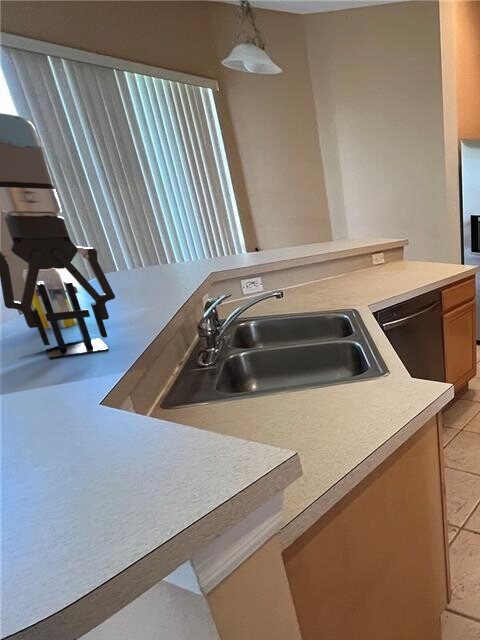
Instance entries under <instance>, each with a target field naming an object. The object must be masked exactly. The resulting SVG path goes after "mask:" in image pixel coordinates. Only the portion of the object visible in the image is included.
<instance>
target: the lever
mask: <svg viewBox="0 0 480 640" xmlns="http://www.w3.org/2000/svg"><path fill="white" fill-rule="evenodd" d="M62 283H63V282H62ZM62 283H61V282H57V283H46V285H47V288H48V291H49V294H50V296H51V298H52V300H57V302H58V304H59V306H60V309H61V311H62V312H58V313H48V314H45V317H46V319H47V321H57V320H66V319H75V320H76V318H84V319H85V318H90V317H91V314H90V311H89V310H88V309H81V310H78V311H73V310H72V311H70V309H69V307H68V305H67V303H66V301H65V299H67V298H68V295H67V292H66V289H65V286H64V284H63V285H62ZM63 286H64V287H63ZM64 289H65V290H64ZM65 292H66V293H65ZM66 295H67V296H66Z"/></svg>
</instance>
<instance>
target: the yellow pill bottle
mask: <svg viewBox="0 0 480 640" xmlns="http://www.w3.org/2000/svg"><path fill="white" fill-rule="evenodd" d="M22 271H23V273H22V278H23V281H24V282H25V279H26V275H27V269H23V270H22ZM36 282H43V284H44V286H45V288H46V291H47V294H48V297H49V300H50V303H51V305H52V308H53V311H54V313H58V312H62V311H61V309H60V306H59V304H58V302H57V300H52V298H51V296H50V294H49V291H48V288H47V285H46V283H57V282H61V283H62V285H63V287H64V290H65V293H66V296H67V299H65V301H66V303H67V305H68V307H69V309H70V311H73V309H72V306H71V303H70V300H69V297H68V294H67V291H66V289H65V286H64V283H63V280H62V278H61V275H60V273H59V272H58V271H57V269H56V268H50V269H46V270H41V269H39V273H38V276H37V281H36ZM35 289H37V286H35ZM32 305H33V309H34V308H37V310H38V313H39V316H40V318H41V321H42V324H43V327H44V329H45V330H52V328H51V325H50V322H49V321H47V319H46V317H45V314H46V311H45V308H44V306H43V303H42V300H41V297H40V296H37V295H36V293H35V291H34V295H33V300H32ZM57 323H58V325H59V328H60V329H65V328H69V327H75V326H76V325H77V321H76V318H75V319H66V320H57Z"/></svg>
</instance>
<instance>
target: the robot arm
mask: <svg viewBox="0 0 480 640" xmlns="http://www.w3.org/2000/svg"><path fill="white" fill-rule="evenodd" d="M43 148H44V147H43V144H42V143H41V140H40V138H39V136H38V133H37V131H36V128H35V125H34V124H33V123H32V122H31V121H30V120H29V119H28V118H25V117H22V116H19V115H14V114H8V113H1V112H0V211H2V212H3V213H6V215H5V216H4V218H3V220H4V222H5V225H6V228H7V231H8V233H9V236H10V238H11V241H12V242H11V245H10V247H9V248H4V249H0V285H1V292H2V297H3V304H4V307H5V308H7V309H10V310H11V309H12V310H17V311H21V312H22V315H23V318H24V319H25V322H26V325H27V327H28V328H30V329H34V328H37V330H38V333H39V336H40V338H41V341H42V343H43V346H51V343H50V340H49V338H48V335H47V333H46V329H44V327H43V324H42V321H41V318H40V316H39V313H38V310H37V308H34V307H33V308H32V305H33V303H32V300H33V295H34V291H35V286H36V281H37V276H38V273H39V269H41V270H46V269H50V268H54V269H56V270H63V269H64V270H66V271H67V272H68V273H69V274H70V275H71V276H72V277H73V278H74V280H76V282H77V283H78V284H79V285H80V286H81V288H83V289H84V290H85V291H86V293H88V295H89V296H90V297H91V298H92V300H94V302H90V305H91V309H92V313H93V315H94V319H95V322H96V325H97V328H98V331H99V334H100V337H102V339H104V338H108V333H107V330H106V327H105V324H104V321H105V320H109V318H110V316H109V311H108V309H107V305H106V303H107V302H110V301H111V300H115V299H116V295H115V293H114V291H113V289H112V287H111V285H110V283H109V281H108V278H107V277H106V275H105V272H104V271H103V269H102V267H101V265H100V263H99V261H98V250H97V249H96V248H94V247H91V246H90V247H84V246H83V247H82V246H77V245H76V244H75V243H74V242H73V240H72V238H71V235H70V232H69V229H68V225H67V222H66V220H65V218H64V217H63V216H60V215H59V214H61V213H62V212H63V210H62V207H61V204H60V201H59V198H58V195H57V192H56V189H55V185H54V182H53V180H52V179H53V178H52V175H51V172H50V170H49V169H50V168H49V166H48V162H47V160H46V156H45V153H44V149H43ZM77 253H79V254H80V255H81V257H82V258H83V259H85V260H87V263H88V266H89V267H90V270H92V273H93V275H94V277H95V278H96V281H97V283H98V284H99V286H100V288H101V290H102V292H103V294H102V293H101V294H100V293H99V292H98V291H97V290H96V289H95V288H94V287H93V285H91V284H90V282H89V281H88V280H87V279H86V277H84V275H83V274H82V272H80V271H79V270H78V268H77V267H76V266H75V265H74V264H73V263H72V261H73V260H74V258H75V257H76V255H77ZM13 255H15V256H17V257H18V258H20V260H22V261H24V262H25V263H27V269H26V270H27V275H26V279H25V281H24V285H23V290H22V295H21V299H20V301H16V300H15V297H14V290H13V283H12V278H11V272H10V266H9V263H11V262H12V259H13V258H12V256H13Z"/></svg>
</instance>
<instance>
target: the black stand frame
mask: <svg viewBox="0 0 480 640" xmlns="http://www.w3.org/2000/svg"><path fill="white" fill-rule="evenodd" d="M62 283H63V286H64V289H65V292H66V295H67V298H68V301H69V304H70V307H71V310H72V311H78V310H82V309H81V305H80V302H79V299H78V296H77V294H78V293H79V291H78V288H77V286H76V285H74V283H73V282H72V281H71V280H70V279H63V280H62ZM36 286H37V289H35V293H36V295H37V296H40V297H41V300H42V303H43V306H44V308H45V311H46V314H48V313H54V311H53V308H52V305H51V303H50V300H49V297H48V294H47V291H46V288H45V286H44V284H43V282H36ZM49 322H50V325H51V328H52V329H51V331H52V334H53V337H54V339H55V342H56V346H53V347H50V348H47V349H45V353H46V355H47V358H48V360H49V361H51V360H57V359H65V358H71V357H77V356H78V357H79V356H83V355H90V354H97V353H103V352H109V351H110V350H109V348H108V347H107V345H106V344H105V343H104V341H103V340H101V338H94V339H91V336H90V332H89V330H88V326H87V322H86V320H85V318H75V322H76V325H77V327H78V330H79V333H80V336H81V339H82V340H79V341H72V342H71V341H70V342H67V343H65V340H64V337H63V333H62V331H61V328H59V325H58V323H57V321H49Z"/></svg>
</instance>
